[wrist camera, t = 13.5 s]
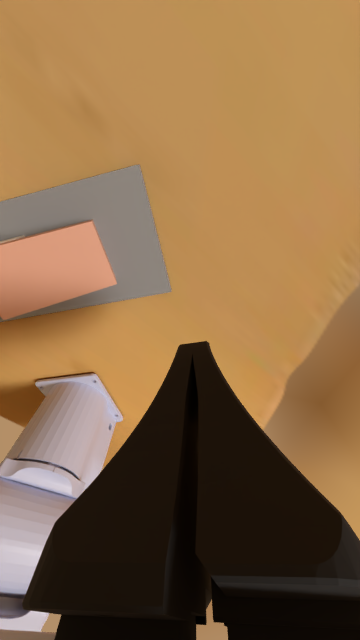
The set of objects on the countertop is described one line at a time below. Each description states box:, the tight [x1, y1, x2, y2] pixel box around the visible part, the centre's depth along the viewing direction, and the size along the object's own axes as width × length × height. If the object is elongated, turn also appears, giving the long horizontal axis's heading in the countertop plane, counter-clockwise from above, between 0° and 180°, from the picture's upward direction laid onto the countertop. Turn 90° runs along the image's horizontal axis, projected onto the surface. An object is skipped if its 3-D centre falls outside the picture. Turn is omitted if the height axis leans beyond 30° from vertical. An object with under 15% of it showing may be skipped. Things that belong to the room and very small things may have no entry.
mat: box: [0, 164, 171, 322], centre depth 18 cm, size 9×27×1 cm, turn 102°
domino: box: [0, 219, 117, 320], centre depth 15 cm, size 4×2×8 cm
